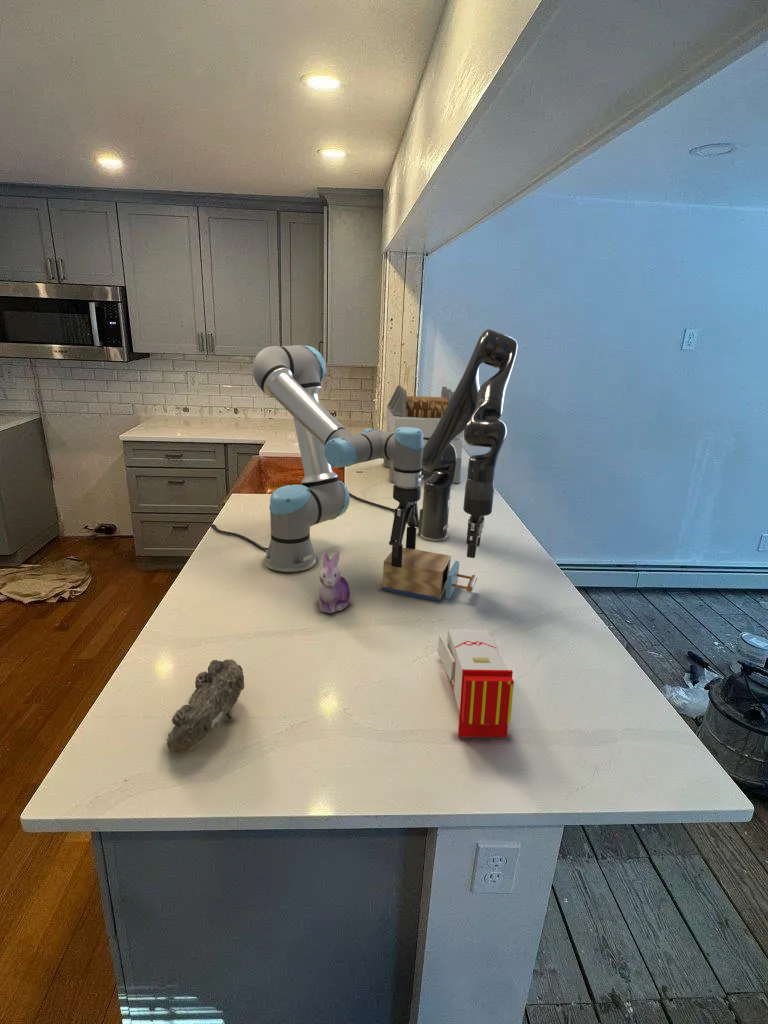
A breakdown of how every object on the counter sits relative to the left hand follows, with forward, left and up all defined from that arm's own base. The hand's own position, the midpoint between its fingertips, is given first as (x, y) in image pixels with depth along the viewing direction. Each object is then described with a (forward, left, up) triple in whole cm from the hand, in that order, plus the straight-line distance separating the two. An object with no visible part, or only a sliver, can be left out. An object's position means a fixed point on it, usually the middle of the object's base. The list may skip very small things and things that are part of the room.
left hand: (403, 557), depth 160 cm
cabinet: (+4, 0, -9) cm, 10 cm away
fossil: (-17, -67, -9) cm, 70 cm away
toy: (+28, -41, -9) cm, 50 cm away
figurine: (-13, -19, -9) cm, 25 cm away
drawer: (+10, 0, -8) cm, 13 cm away
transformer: (-27, +116, -9) cm, 119 cm away
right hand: (+19, +2, +5) cm, 20 cm away
